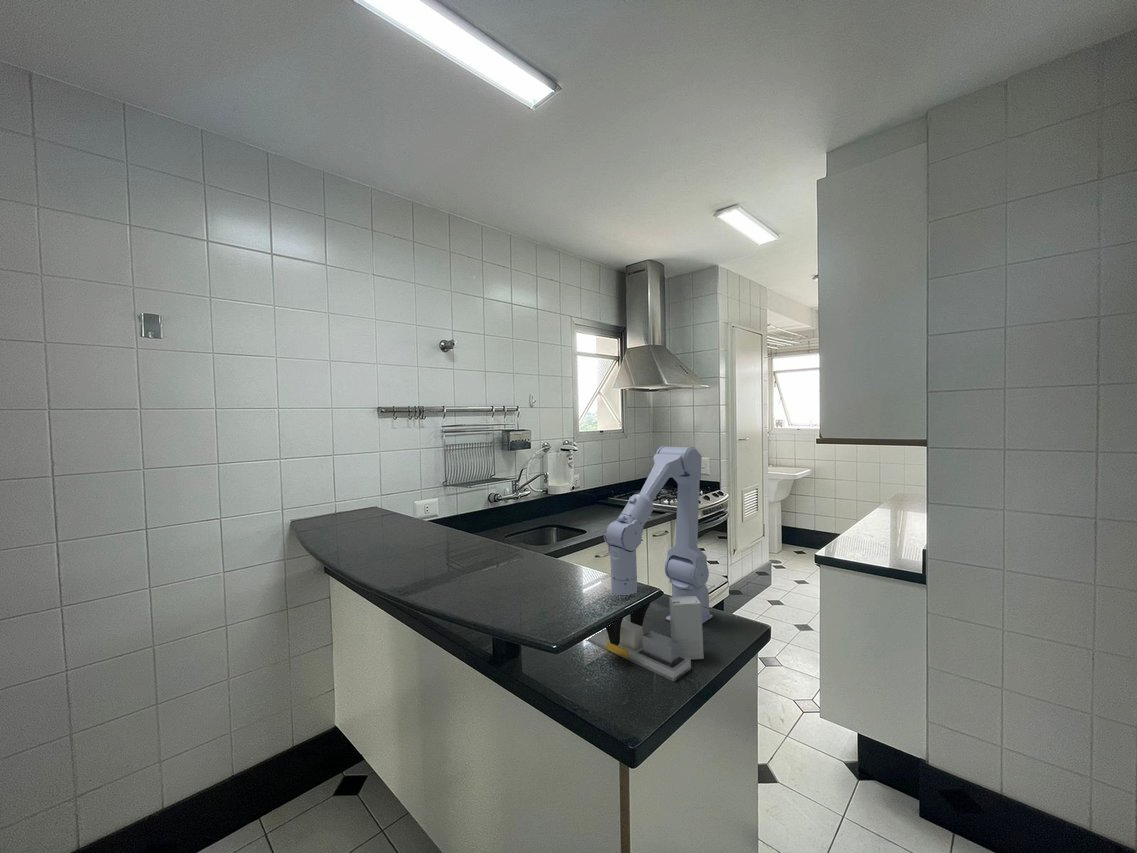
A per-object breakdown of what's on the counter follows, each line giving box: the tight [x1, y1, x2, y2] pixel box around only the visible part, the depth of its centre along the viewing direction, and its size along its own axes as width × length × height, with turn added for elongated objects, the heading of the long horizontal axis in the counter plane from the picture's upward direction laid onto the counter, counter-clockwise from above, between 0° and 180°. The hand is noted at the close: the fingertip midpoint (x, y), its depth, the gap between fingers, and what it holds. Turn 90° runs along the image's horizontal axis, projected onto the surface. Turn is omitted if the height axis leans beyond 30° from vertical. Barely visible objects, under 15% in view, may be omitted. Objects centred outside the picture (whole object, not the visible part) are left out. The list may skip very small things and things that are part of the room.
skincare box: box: [668, 596, 705, 660], centre depth 93 cm, size 6×4×12 cm
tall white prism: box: [619, 618, 644, 651], centre depth 97 cm, size 3×7×5 cm, turn 43°
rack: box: [586, 629, 692, 682], centre depth 97 cm, size 6×29×6 cm, turn 43°
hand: (625, 637), depth 97 cm, fingers open, 7 cm apart
